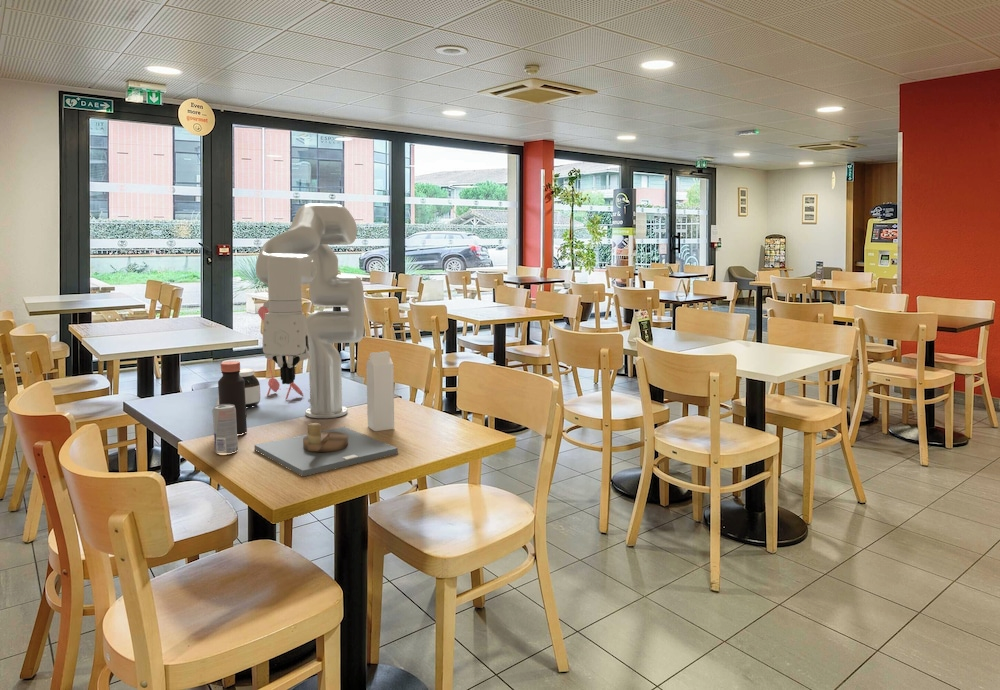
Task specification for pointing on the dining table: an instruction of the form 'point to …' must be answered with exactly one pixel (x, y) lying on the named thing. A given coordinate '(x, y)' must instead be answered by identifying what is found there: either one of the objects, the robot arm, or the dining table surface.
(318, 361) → the robot arm
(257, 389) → the spread jar
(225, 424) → the energy drink
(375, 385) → the milk
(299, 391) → the pink flower figure
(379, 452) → the base plate
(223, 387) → the bottle
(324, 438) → the dial
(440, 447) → the dining table surface
